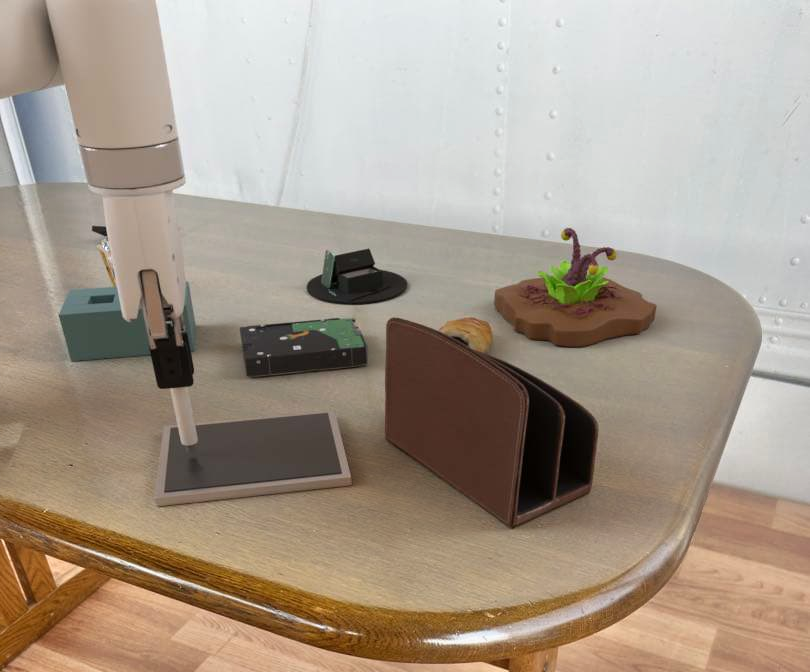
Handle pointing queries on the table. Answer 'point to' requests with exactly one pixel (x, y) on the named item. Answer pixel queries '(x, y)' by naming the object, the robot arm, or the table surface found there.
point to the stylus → (184, 416)
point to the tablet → (252, 458)
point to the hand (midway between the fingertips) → (176, 379)
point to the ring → (105, 250)
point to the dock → (109, 325)
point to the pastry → (470, 333)
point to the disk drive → (302, 346)
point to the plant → (574, 303)
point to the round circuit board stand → (355, 280)
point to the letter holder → (485, 424)
